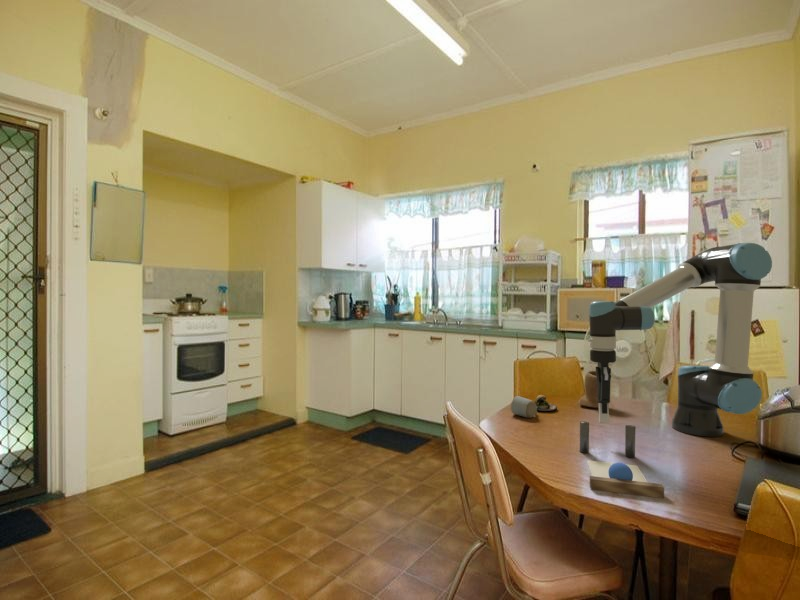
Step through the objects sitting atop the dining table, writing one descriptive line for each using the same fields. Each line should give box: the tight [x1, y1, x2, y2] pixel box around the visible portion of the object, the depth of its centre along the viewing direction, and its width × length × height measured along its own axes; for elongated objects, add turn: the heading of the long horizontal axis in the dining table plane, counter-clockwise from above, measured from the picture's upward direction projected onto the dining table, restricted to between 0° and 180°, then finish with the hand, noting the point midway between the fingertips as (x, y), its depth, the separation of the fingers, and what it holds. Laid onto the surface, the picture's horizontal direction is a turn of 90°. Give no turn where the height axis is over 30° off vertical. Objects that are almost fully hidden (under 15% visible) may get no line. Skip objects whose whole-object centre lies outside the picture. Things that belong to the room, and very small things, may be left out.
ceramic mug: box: [510, 395, 538, 419], centre depth 172 cm, size 10×8×7 cm
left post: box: [579, 421, 590, 455], centre depth 132 cm, size 3×3×9 cm
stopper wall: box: [589, 475, 665, 499], centre depth 105 cm, size 16×2×2 cm, turn 74°
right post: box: [624, 424, 636, 459], centre depth 128 cm, size 3×3×9 cm
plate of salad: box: [534, 392, 558, 412], centre depth 182 cm, size 12×12×8 cm
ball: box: [608, 462, 633, 481], centre depth 109 cm, size 6×6×6 cm
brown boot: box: [578, 370, 599, 409], centre depth 188 cm, size 15×12×15 cm
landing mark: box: [586, 460, 648, 482], centre depth 117 cm, size 13×13×1 cm
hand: (603, 422), depth 139 cm, fingers closed
